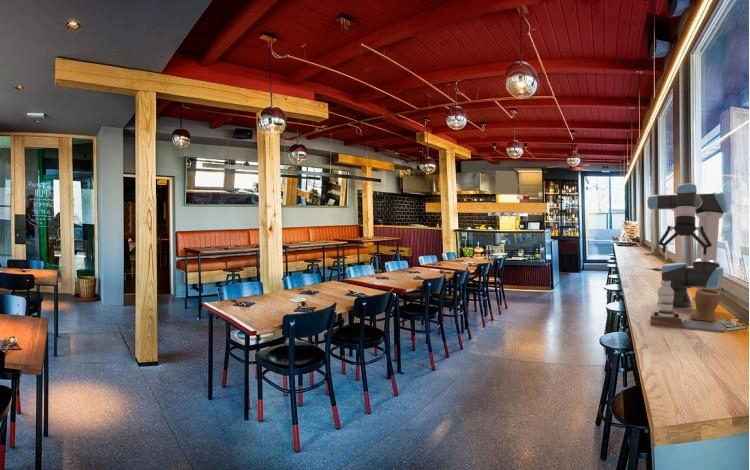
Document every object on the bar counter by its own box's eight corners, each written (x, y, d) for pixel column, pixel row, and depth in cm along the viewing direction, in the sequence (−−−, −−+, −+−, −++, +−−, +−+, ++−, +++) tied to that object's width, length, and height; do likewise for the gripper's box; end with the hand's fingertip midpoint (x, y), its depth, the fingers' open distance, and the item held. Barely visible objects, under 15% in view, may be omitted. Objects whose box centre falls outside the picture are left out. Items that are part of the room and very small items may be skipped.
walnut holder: (651, 319, 205) (651, 311, 205) (681, 322, 198) (681, 313, 198) (650, 324, 195) (650, 316, 195) (682, 327, 188) (682, 318, 188)
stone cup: (719, 324, 191) (719, 292, 191) (687, 321, 200) (687, 289, 199) (722, 318, 202) (722, 287, 202) (691, 315, 211) (691, 285, 210)
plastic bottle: (678, 324, 193) (678, 281, 193) (663, 325, 194) (663, 282, 193) (669, 321, 200) (668, 279, 199) (654, 321, 200) (654, 280, 199)
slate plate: (683, 321, 199) (683, 319, 199) (721, 325, 190) (721, 323, 190) (683, 328, 187) (683, 326, 187) (724, 332, 179) (724, 330, 179)
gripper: (653, 214, 203) (651, 258, 202) (720, 215, 189) (718, 262, 187) (654, 217, 210) (652, 259, 208) (718, 218, 195) (716, 263, 193)
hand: (683, 260), depth 197 cm, fingers open, 13 cm apart
